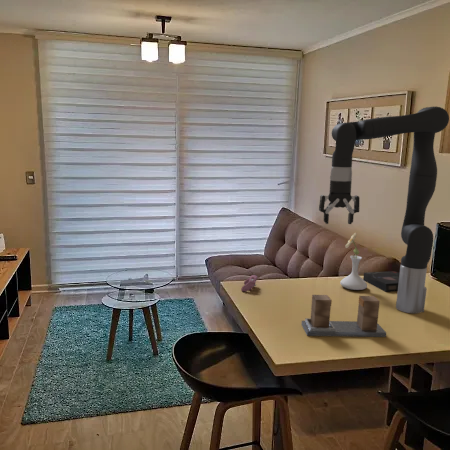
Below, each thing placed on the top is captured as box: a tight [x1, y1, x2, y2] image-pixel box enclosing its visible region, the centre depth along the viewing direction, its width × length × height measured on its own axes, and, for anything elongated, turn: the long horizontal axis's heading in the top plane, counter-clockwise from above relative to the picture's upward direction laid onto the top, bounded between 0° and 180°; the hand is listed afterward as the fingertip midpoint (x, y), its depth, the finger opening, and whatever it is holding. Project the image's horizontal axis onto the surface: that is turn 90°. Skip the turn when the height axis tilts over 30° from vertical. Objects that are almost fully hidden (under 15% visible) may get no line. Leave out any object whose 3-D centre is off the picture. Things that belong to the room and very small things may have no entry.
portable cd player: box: [362, 270, 400, 293], centre depth 208 cm, size 16×17×4 cm
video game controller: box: [241, 274, 259, 292], centre depth 195 cm, size 10×5×7 cm, turn 170°
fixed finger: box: [356, 295, 381, 330], centre depth 155 cm, size 5×5×10 cm
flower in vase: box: [339, 232, 368, 291], centre depth 199 cm, size 13×11×25 cm
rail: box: [301, 317, 387, 338], centre depth 156 cm, size 26×9×2 cm, turn 93°
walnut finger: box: [310, 294, 333, 328], centre depth 154 cm, size 5×5×10 cm
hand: (338, 223), depth 171 cm, fingers open, 8 cm apart
